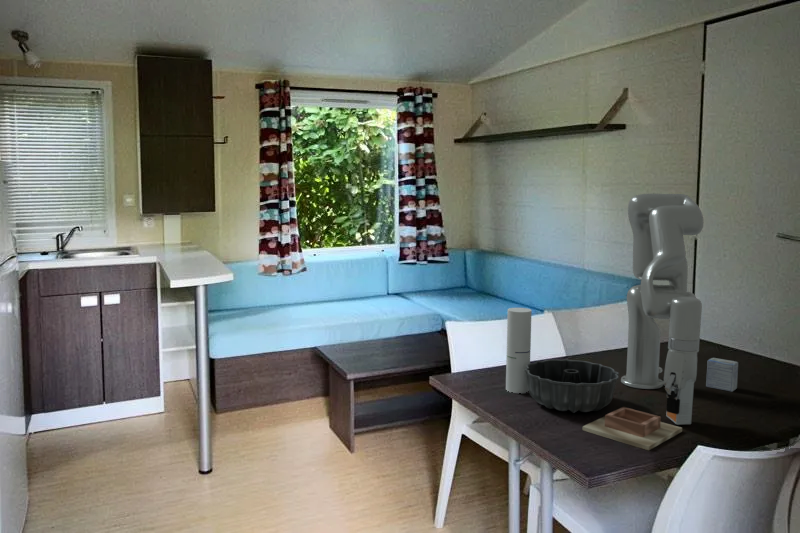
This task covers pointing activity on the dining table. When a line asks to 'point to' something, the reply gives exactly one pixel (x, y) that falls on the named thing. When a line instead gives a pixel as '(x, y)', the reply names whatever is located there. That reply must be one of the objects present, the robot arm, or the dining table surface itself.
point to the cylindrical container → (518, 349)
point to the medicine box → (722, 374)
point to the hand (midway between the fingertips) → (679, 408)
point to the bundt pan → (571, 384)
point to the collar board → (633, 428)
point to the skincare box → (684, 404)
